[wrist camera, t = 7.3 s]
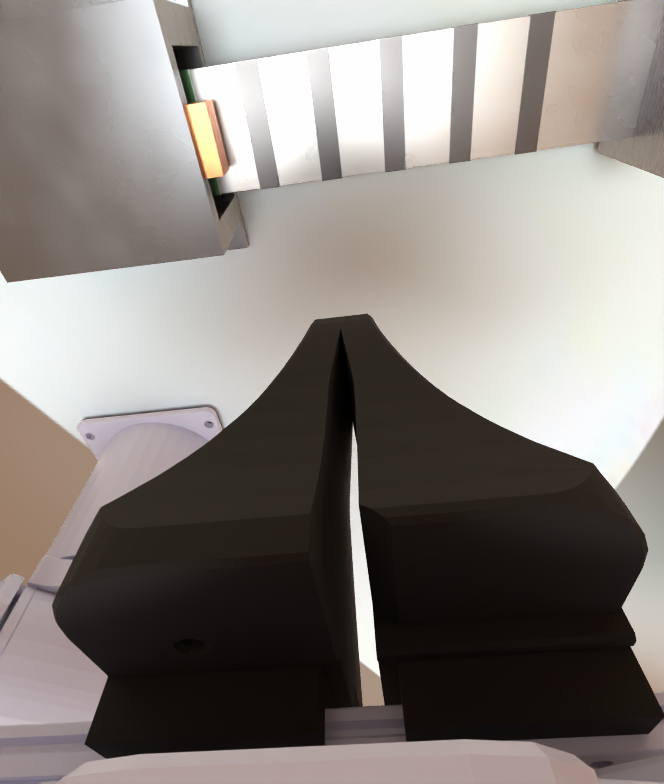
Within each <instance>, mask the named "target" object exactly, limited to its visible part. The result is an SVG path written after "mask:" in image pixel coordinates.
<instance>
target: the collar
mask: <svg viewBox="0 0 664 784" xmlns="http://www.w3.org/2000/svg"><path fill="white" fill-rule="evenodd" d="M205 67H206V65H205V61H204V56H203V52H202V48H201V44H200V40H199V36H198V32H197V27H196V23H195V19H194V15H193V11H192V7H191V2H190V0H0V271H1V273H2V274H3V276H4V278H5V279H6V281H7V283H8V282H15V281H23V280H31V279H39V278H47V277H55V276H63V275H70V274H78V273H86V272H94V271H102V270H110V269H118V268H126V267H133V266H141V265H149V264H157V263H165V262H173V261H181V260H188V259H196V258H204V257H212V256H220V255H224V254H225V252H226V250H232V249H240V248H247V247H248V245H249V243H248V239H247V235H246V231H245V227H244V223H243V219H242V214H241V210H240V206H239V202H238V198H237V194H236V192H230V193H223V194H221V195H215V196H213V195H212V192H211V188H210V184H209V181H208V178H214V177H221V176H224V175H225V174H226V173H227V171H228V170H229V166H228V162H227V158H226V154H225V150H224V146H223V142H222V138H221V133H220V129H219V125H218V121H217V117H216V113H215V109H214V105H213V100H212V99H210V100H203V101H197V102H192V103H190V104H188V103H187V100H186V96H185V92H184V89H183V85H182V81H181V78H180V74H179V71H180V70H187V69H189V70H192V69H198V68H205Z"/></svg>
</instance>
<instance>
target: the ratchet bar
mask: <svg viewBox="0 0 664 784" xmlns="http://www.w3.org/2000/svg"><path fill="white" fill-rule="evenodd" d="M179 74H180V78H181V81H182V85H183V89H184V92H185V96H186V100H187V103H188V104H190V103H192V102H197V101H203V100H210V99H212V100H213V105H214V109H215V113H216V117H217V121H218V125H219V129H220V133H221V138H222V142H223V146H224V150H225V154H226V158H227V162H228V166H229V170H228V171H227V173H226V174H225V175H224V176H221V177H214V178H208V181H209V184H210V188H211V192H212V195H213V196H215V195H221V194H223V193H230V192H237V191H245V190H252V189H259V188H260V189H266V188H273V187H280V186H281V185H288V184H296V183H303V182H310V181H318V180H322V181H324V180H332V179H339V178H342V177H347V176H354V175H361V174H369V173H376V172H383V171H385V172H390V171H397V170H405V169H406V168H412V167H420V166H427V165H434V164H441V163H456V162H463V161H470V160H471V159H478V158H485V157H492V156H500V155H507V154H521V153H529V152H536V151H537V150H543V149H551V148H558V147H565V146H572V145H580V144H587V143H594V142H599V146H598V151H597V152H598V153H600V154H603V155H605V156H608V157H611V158H613V159H616V160H618V161H621V162H624V163H626V164H629V165H631V166H634V167H637V168H639V169H642V170H644V171H647V172H650V173H652V174H655V175H657V176H660V177H663V178H664V0H628V1H621V2H615V3H609V4H602V5H596V6H590V7H583V8H577V9H571V10H564V11H558V12H556V11H553V12H546V13H540V14H534V15H528V16H527V17H520V18H514V19H508V20H501V21H495V22H489V23H482V24H478V23H477V24H471V25H464V26H458V27H452V28H451V29H444V30H438V31H432V32H426V33H419V34H413V35H407V36H403V35H401V36H395V37H389V38H382V39H378V40H375V41H369V42H362V43H356V44H350V45H343V46H337V47H331V48H329V47H325V48H319V49H313V50H307V51H306V52H299V53H293V54H287V55H280V56H274V57H268V58H261V59H257V58H256V59H250V60H243V61H237V62H234V63H230V64H224V65H217V66H211V67H205V68H198V69H192V70H189V69H187V70H180V71H179Z"/></svg>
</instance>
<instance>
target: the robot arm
mask: <svg viewBox="0 0 664 784" xmlns="http://www.w3.org/2000/svg"><path fill="white" fill-rule="evenodd" d="M207 421H210V422H212V424H211V423H208V422H207ZM353 426H354V431H355V436H356V442H357V452H358V487H359V509H360V517H361V524H362V531H363V538H364V545H365V553H366V560H367V567H368V574H369V581H370V589H371V596H372V603H373V615H374V628H375V640H376V652H377V660H378V662H379V669H380V676H381V682H382V690H383V696H384V703H385V705H384V706H365V707H363V705H362V691H361V678H360V666H359V665H360V664H359V651H358V636H357V622H356V607H355V593H354V577H353V562H352V546H351V529H350V478H351V454H352V428H353ZM77 428H78V431H79V432H80V434H81V436H82V437H83V439H84V440H85V442H86V443H87V445H88V447H89V448H90V450H91V451H92V453H93V454H94V456H95V457H96V459H97V461H98V462H97V464H96V466H95V468H94V470H93V471H92V473H91V475H90V477H89V478H88V480H87V482H86V484H85V486H84V487H83V489H82V491H81V493H80V494H79V496H78V498H77V500H76V502H75V503H74V506H73V507H72V509H71V511H70V512H69V514H68V516H67V518H66V520H65V521H64V523H63V525H62V527H61V528H60V530H59V532H58V534H57V535H56V537H55V539H54V541H53V543H52V544H51V546H50V548H49V550H48V552H47V553H46V555H45V556H43V557H42V558H41V560H40V562H39V564H38V565H37V567H36V569H35V571H34V573H33V574H32V576H31V578H30V580H29V581H28V583H27V585H26V586H23V585H22V583H23V581H24V579H25V578H24V577H21V576H19V575H16V574H10V575H8V576H7V577H6V579H5V580H0V784H664V691H654V692H653V691H652V689H651V687H650V685H649V683H648V681H647V679H646V677H645V675H644V673H643V671H642V669H641V667H640V665H639V663H638V661H637V659H636V657H635V655H634V653H633V651H632V649H631V647H630V646H634V644H635V643H636V636H635V632H634V630H633V628H632V627H631V625H630V623H629V621H628V619H627V617H626V615H625V613H624V611H623V609H622V605H623V603H624V602H625V600H626V598H627V596H628V594H629V592H630V591H631V589H632V587H633V585H634V583H635V581H636V579H637V578H638V576H639V574H640V572H641V570H642V568H643V566H644V562H645V559H646V556H647V552H648V547H647V542H646V538H645V534H644V533H643V531H642V529H641V528H640V526H639V525H638V523H637V522H636V520H635V519H634V517H633V516H632V514H631V513H630V511H629V509H628V508H627V506H626V505H625V503H624V502H623V501H622V499H621V498H620V497H619V495H618V494H617V492H616V491H615V490H614V488H613V487H612V486H611V485H610V484H609V482H608V481H607V480H606V479H605V478H604V477H603V475H602V474H601V473H600V472H599V470H598V469H597V468H596V466H595V465H594V464H593V463H590V462H588V461H585V460H582V459H580V458H577V457H574V456H572V455H569V454H566V453H563V452H561V451H558V450H555V449H553V448H550V447H547V446H544V445H542V444H539V443H536V442H534V441H532V440H529V439H527V438H525V437H523V436H520V435H518V434H516V433H514V432H512V431H510V430H507V429H505V428H503V427H501V426H499V425H497V424H495V423H493V422H491V421H489V420H487V419H485V418H483V417H482V416H480V415H478V414H476V413H475V412H473V411H471V410H470V409H468V408H466V407H464V406H463V405H461V404H459V403H458V402H456V401H455V400H453V399H452V398H450V397H449V396H447V395H446V394H444V393H443V392H442V391H440V390H439V389H438V388H436V387H435V386H434V385H432V384H431V383H430V382H429V381H428V380H426V379H425V378H424V377H423V376H422V375H421V374H420V373H419V372H417V371H416V370H415V369H414V368H413V367H412V366H411V365H410V364H409V363H408V362H407V361H406V360H405V359H404V358H403V357H402V356H401V355H400V354H399V353H398V351H397V350H396V349H395V348H394V347H393V346H392V345H391V344H390V342H389V341H388V340H387V339H386V337H385V336H384V335H383V334H382V332H381V331H380V329H379V328H378V327H377V325H376V323H375V322H374V320H373V318H372V317H371V316H370V315H368V314H361V315H352V316H344V317H335V318H326V319H317V320H315V321H314V322H313V323H312V324H311V326H310V328H309V329H308V331H307V333H306V334H305V336H304V338H303V339H302V341H301V343H300V344H299V346H298V347H297V349H296V350H295V352H294V353H293V355H292V356H291V358H290V359H289V360H288V362H287V363H286V365H285V366H284V368H283V369H282V370H281V371H280V373H279V374H278V375H277V376H276V378H275V379H274V380H273V381H272V383H271V384H270V385H269V386H268V388H267V389H266V390H265V391H264V392H263V393H262V394H261V396H260V397H259V398H258V399H257V400H256V401H255V402H254V403H253V404H252V405H251V406H250V407H249V408H248V409H247V410H246V411H245V412H244V413H242V414H241V415H240V416H239V417H238V418H237V419H236V420H234V421H233V422H232V423H231V424H229V425H228V426H227V427H226V428H225V429H223V430H222V427H221V424H220V422H219V419H218V416H217V414H216V412H215V410H213V409H212V408H209V407H202V408H192V409H182V410H173V411H163V412H153V413H143V414H134V415H124V416H114V417H104V418H95V419H85V420H82V421H81V422H80V423H79V424H78V427H77ZM90 433H91V434H90ZM92 434H93V435H92Z"/></svg>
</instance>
